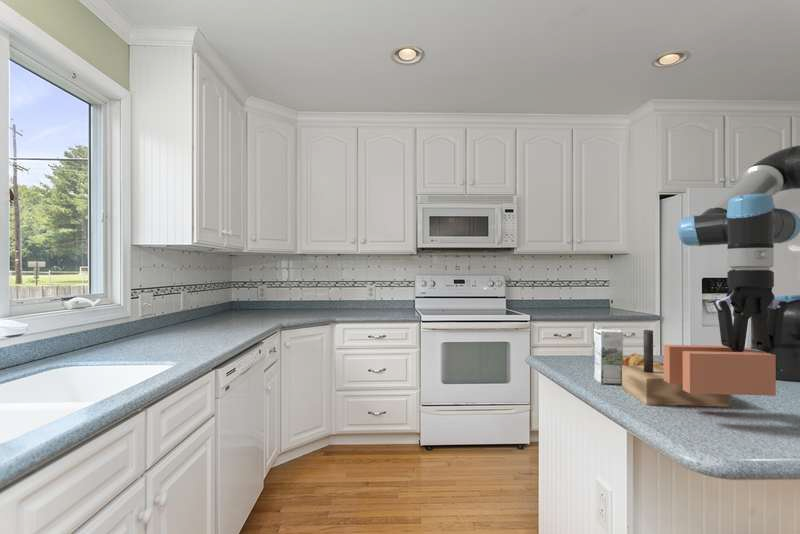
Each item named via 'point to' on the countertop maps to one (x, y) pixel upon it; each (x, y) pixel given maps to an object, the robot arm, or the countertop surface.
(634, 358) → the croissant
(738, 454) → the countertop surface
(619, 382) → the syrup box
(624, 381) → the stand
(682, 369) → the c link
